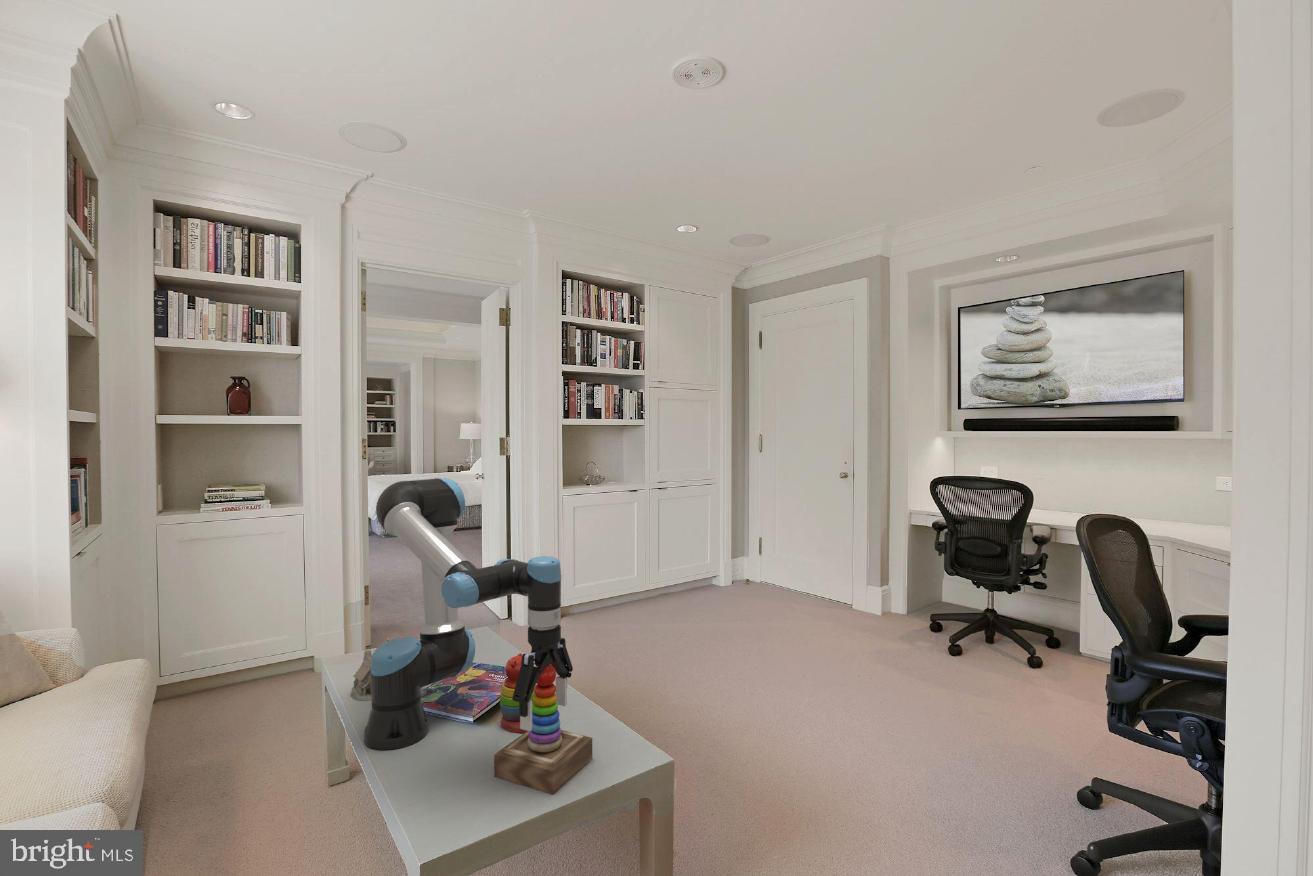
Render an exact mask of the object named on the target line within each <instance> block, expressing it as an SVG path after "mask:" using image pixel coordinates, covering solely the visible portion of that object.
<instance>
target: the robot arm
mask: <svg viewBox="0 0 1313 876" xmlns="http://www.w3.org/2000/svg"><path fill="white" fill-rule="evenodd" d="M465 509H466V497H465V495H464V492H463V489H462V488H461V487H460V485H458V483H457V481H455V480H453V479H451V478H437V477H435V478H428V479H427V478H426V479H414V480H402V481H396V482H394V483H392V484H389V486H387V487H386V488H385V489H383V491H382V492H381V494H380V495H379V496H378V499H377V502H376V506H375V514H376V519H377V521H378V523H379V524H380V526H381V528H382V529H383V530H384V531H385V532H386V533H387V534H389V535H391V536H393V537H397V538H398V539H399V540H400V541H401V542H402V543H403V544H404V545H405V547H407V548H408V549H409V550H410V551H411V552H412V553H413V554H414V555H415V557H416V558H418V559H419V560H420V562H421V563H420V565H421V580H422V594H423V595H422V596H423V611H424V622H425V623H424V625H423V626H422V628H421V629H420V630H419V638H417V637H415V636H414V637H413V636H404V637H402V638H400V637H397V638H394V639H391V641H388V642H387V641H385V642H386V643H385V642H383V643H382V644H381V645H379V646H378V647H377V648H376V649H375V650H374V651H373V653H372V661H371V668H370V671H371V700H372V701H371V710H370V713H369V716H368V721H367V724H366V726H365V728H364V730H363V731H364V732H363V742H364V745H366V747H368V748H371V749H375V750H381V751H388V750H394V749H400V748H406V747H407V746H411V745H413V744H415V743H417V742H419V741H421V740H423V738H425V736H426V735H427V734H428V732H429V720H428V718H427V715H426V712H425V710H424V706H423V703H422V699H421V698H422V693H421V692H422V691H421V690H422V688H423V687H426V686H429V685H432V684H435V683H437V682H441V681H443V680H445V679H446V680H447V679H450V678H454V677H456V676H458V675H460V674H461V673H462V674H463V672H466V671H468V669H469V668H470V666H471V665H473V662H474V660H475V656H476V643H475V641H476V640H475V639H474V637H473V634H472V632H471V630H469V629H468V628H465V622H463V621H461V620H460V619H459V611H458V609H460V608H466V607H471V606H474V605H477V604H480V603H481V604H482V603H483V602H488V601H492V600H496V599H500V598H503V597H507V596H510V595H519V596H524V597H527V626H528V628H527V642H528V644H529V645H530V646H531V651H530V653H523V654H522V661H521V668H520V671H519V675H518V679H517V683H516V686H515V690H514V694H513V698H512V700H513V701H516V702H519V711H520V712H519V715H520V729H523V730H527V731H531V730H532V700H530V698H531V695H532V693H533V690H534V688H535V686H536V685H537V683H536V682H537V680H538V677H539V675H540V673H542V672H543V670H544V668H545V667H546V666H547V665H552V666H553V667H554V668H555V671H556V679H555V686H556V692H555V694H556V695H557V700H556V702H557V704H558V706H560V707H561V706H563V707H567V705H568V700H567V699H568V697H567V696H568V679H569V678H572V672H573V670H574V666H573V664H572V661H571V659H570V655H569V652H568V649H567V645H566V643H567V642H566V638H564V637H562V626H561V625H560V624H561V621H562V619H561V618H562V617H561V605H562V603H561V602H562V601H561V600H562V598H561V597H562V596H561V595H562V578H563V577H562V576H563V575H562V571H561V570H562V569H561V561H560V559H558V558H557V557H554V556H546V555H545V556H536V557H532V558H530V559H529V560H528V562H525V561H521V560H517V559H513V558H509V559H508V558H503V559H500V560H498V561H497V562H496V563H495V564H494V565H490V566H485V567H481V568H478V567H476V566H475V564H473V563H472V562H471V561H470V560H469V559H468V558H467V557H465V556H464V554H463V553H462V552H460V551H459V550H458V548H456V547H455V546H454V538H453V532H454V530H455V529H456V528H457V527H458V519H459V518H461V517H463V515H464V514H465V512H464V511H465Z"/></svg>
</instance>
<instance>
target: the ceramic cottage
mask: <svg viewBox="0 0 1313 876" xmlns="http://www.w3.org/2000/svg"><path fill="white" fill-rule="evenodd" d="M391 640H392V639H391V638H390V637H387V638H386V641H385V642H384V643H386V642H388V641H391ZM372 655H373V653H372V649H370V648H367V649H365V650H364V654H363V662H361V663H362V664H361V665H360V666H359V668H358V669H357V671H355V674H354V675H353V676H352V677H353V678H354V681H353V687H352V688H351V691H350V697H351V698H352V699H353V700H356V701H358V702H372V700H371V671H370V668H371V661H372Z"/></svg>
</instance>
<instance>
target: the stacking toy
mask: <svg viewBox="0 0 1313 876" xmlns="http://www.w3.org/2000/svg"><path fill="white" fill-rule="evenodd" d="M556 677H557V673H556V671H555V668H554V667H553V666H552V665H551V664H550V665H547V666H546V667H545V668H544V670H543V672H542V673H540V675H539V677H538V680H537V682H536V685H535V687H534V693H535V695H534V697H533V704H532V711H533V712H532V730H531V731H529V732H528V735H529V738H528V741H527V743H528V746H529V748H530V749H531V750H533V751H536V752H550V751H553V750H555V749H557V748H558V747H559V746H560V745H561V743H562V736H561V730H562V728H561V720H560V711H559V710H558V708H559V705H558V704H557V702H556V700H557V695H556V684H554V682H556Z"/></svg>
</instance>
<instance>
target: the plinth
mask: <svg viewBox="0 0 1313 876" xmlns="http://www.w3.org/2000/svg"><path fill="white" fill-rule="evenodd" d="M528 732H529V731H527V732H525V733H521V735H519V736H518V737H517V738H515V739H513V740H512V741H511V742H509V743H508V744H507V745H506V746H504V747H503V748H501V749H500V750H498V751H497V752H496V753H494V755H493V757H494V760H493V761H494V762H493V764H494V765H493V766H494V767H493V768H494V774H493V776H494V777H496V778H499V779H501V780H505V781H508V782H511V783H516V784H518V785H521V786H525V787H528V788H531V789H535V790H537V791H541V792H544V793H548V794H551V795H554V794H555V793H557V792H558V791H559V790H560V789H561V788H563V786H564V785H565V784H566V783H567V782H568V781H570V780H571V779H572V778H573V777H574V776H575V775H577V774H578V773H579V772H580V770H582V769H583V768H584V767H585V766H586V765H587V764H588V763H590V762H591V761H592V759H593V737H591V736H586V735H582V734H578V733H575V732H572V731H571V732H570V731H567V730H562V729H561V736H562V743H561V745H560V746H559V747H558V748H557V749H555V750H553V751H550V752H536V751H533V750H531V749H530V748H529V746H528V743H527V741H528V738H529V735H528Z"/></svg>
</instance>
